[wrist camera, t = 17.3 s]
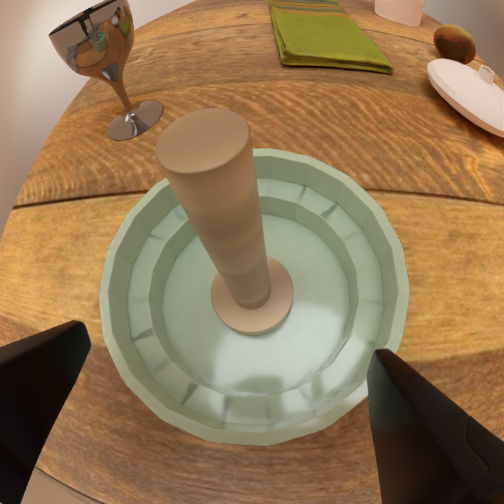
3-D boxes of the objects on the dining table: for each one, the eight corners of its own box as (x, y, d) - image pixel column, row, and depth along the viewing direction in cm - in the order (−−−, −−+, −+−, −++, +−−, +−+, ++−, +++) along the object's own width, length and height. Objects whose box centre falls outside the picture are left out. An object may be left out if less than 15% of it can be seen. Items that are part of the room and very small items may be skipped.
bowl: (336, 455, 13) (355, 481, 9) (106, 365, 17) (61, 356, 13) (394, 226, 19) (418, 187, 15) (195, 177, 23) (177, 134, 19)
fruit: (474, 78, 29) (486, 43, 22) (435, 62, 31) (445, 24, 24) (462, 60, 32) (471, 29, 25) (425, 46, 34) (432, 12, 27)
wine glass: (147, 141, 26) (90, 16, 12) (93, 144, 27) (33, 45, 14) (176, 96, 29) (141, -13, 16) (124, 102, 30) (82, 10, 17)
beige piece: (303, 321, 17) (351, 183, 5) (227, 346, 17) (105, 262, 5) (277, 253, 19) (266, 68, 7) (207, 275, 19) (110, 118, 7)
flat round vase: (431, 121, 24) (449, 72, 18) (415, 64, 30) (424, 27, 24) (527, 167, 21) (552, 132, 14) (496, 100, 27) (510, 69, 20)
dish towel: (335, 6, 43) (336, -5, 40) (394, 76, 28) (399, 56, 25) (268, 5, 45) (267, -7, 42) (280, 69, 30) (278, 47, 27)
